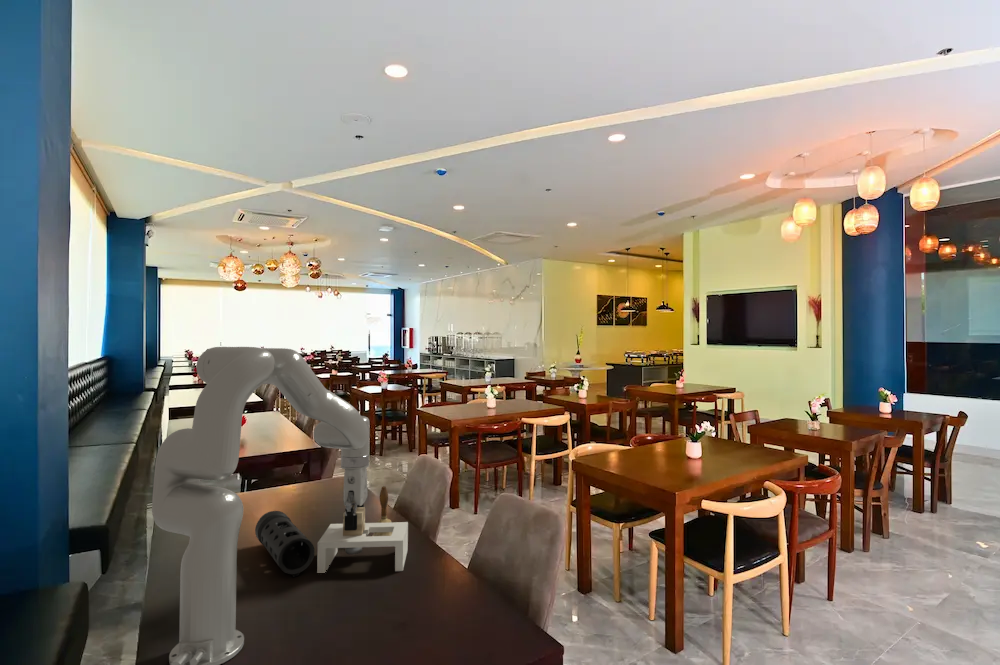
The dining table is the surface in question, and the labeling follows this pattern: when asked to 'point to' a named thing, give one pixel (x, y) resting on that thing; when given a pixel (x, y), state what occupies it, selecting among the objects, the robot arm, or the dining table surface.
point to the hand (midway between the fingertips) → (354, 523)
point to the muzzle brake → (284, 542)
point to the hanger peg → (359, 531)
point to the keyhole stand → (363, 542)
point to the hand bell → (383, 511)
